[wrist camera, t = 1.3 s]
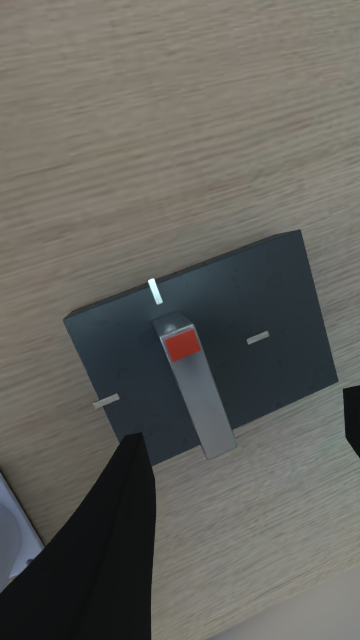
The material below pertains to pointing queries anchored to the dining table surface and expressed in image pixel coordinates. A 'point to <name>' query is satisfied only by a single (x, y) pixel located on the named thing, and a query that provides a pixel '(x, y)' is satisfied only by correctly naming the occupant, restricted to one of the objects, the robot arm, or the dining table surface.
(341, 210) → the dining table surface
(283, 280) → the plate
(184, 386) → the tap handle
